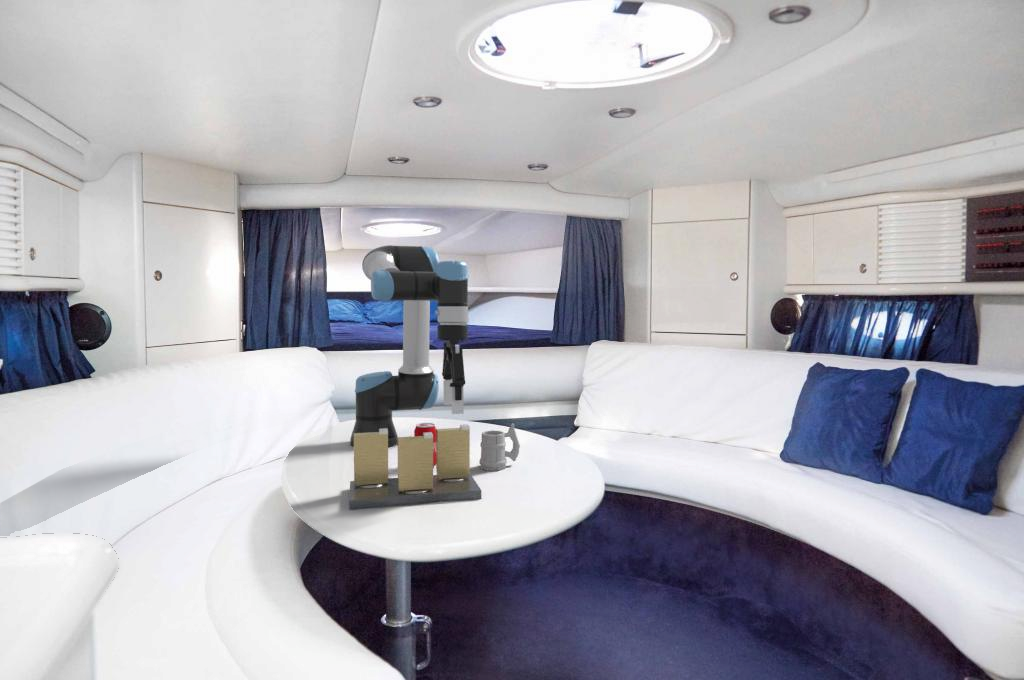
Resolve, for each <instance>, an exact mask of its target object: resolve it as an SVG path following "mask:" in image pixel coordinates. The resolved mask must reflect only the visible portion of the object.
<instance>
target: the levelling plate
mask: <svg viewBox="0 0 1024 680" xmlns="http://www.w3.org/2000/svg"><path fill="white" fill-rule="evenodd" d="M348 498H349V502H348V506H349V510H350V511H351V510H360V509H363V510H364V509H374V508H376V509H377V508H387V507H388V508H389V507H396V506H397V507H398V506H410V505H420V504H434V503H444V502H445V503H446V502H456V501H457V502H458V501H459V502H460V501H468V500H471V501H472V500H480V499H481V500H482V489H481V487H480V485H478V483H477V481H476V480H475V478H474V477H473V476H472V474H471V473H470V477H460V478H446V479H438V478H437V476H436V474H433V488H432V489H419V490H406V491H399V490H398V477H388V483H378V484H365V485H354V480H351V481H349V497H348Z"/></svg>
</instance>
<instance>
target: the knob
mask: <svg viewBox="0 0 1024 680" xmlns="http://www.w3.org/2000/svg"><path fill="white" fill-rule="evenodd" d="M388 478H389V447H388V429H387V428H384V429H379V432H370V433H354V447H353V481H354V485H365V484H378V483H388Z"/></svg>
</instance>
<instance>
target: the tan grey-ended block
mask: <svg viewBox="0 0 1024 680" xmlns="http://www.w3.org/2000/svg"><path fill="white" fill-rule="evenodd" d="M433 475H434V467H433V434H432V432H426V433H423V436H415V437H414V436H400V437H398V443H397V478H398V490H399V491H406V490H419V489H432V488H433Z"/></svg>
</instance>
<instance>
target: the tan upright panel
mask: <svg viewBox="0 0 1024 680" xmlns="http://www.w3.org/2000/svg"><path fill="white" fill-rule="evenodd" d="M470 428H471V427H470V425H469V424H468V423H467V424H459V427H452V428H449V427H448V428H436V465H435V467H436V472H435V473H436V474H435V475H436V476H437V478H438V479H446V478H460V477H470V474H471V472H470V471H471V469H470V468H471V466H470V463H471V462H470V461H471V460H470V455H471V454H470V452H471V450H470V447H471V446H470V444H471V443H470V442H471V441H470V440H471V439H470V438H471V437H470V435H471V434H470V432H471V430H470Z"/></svg>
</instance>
